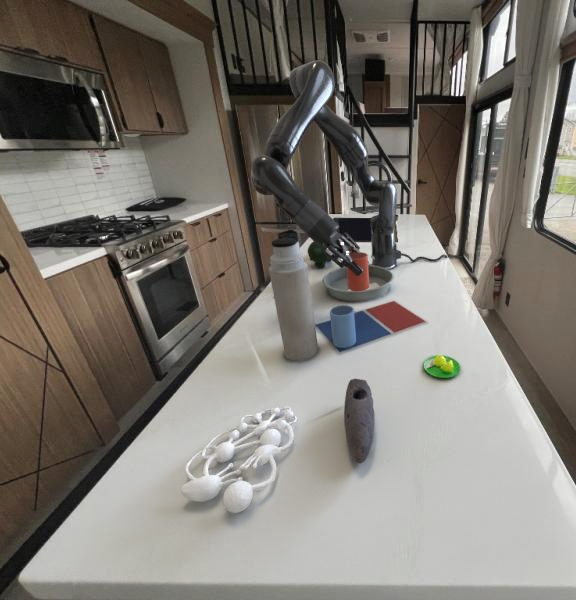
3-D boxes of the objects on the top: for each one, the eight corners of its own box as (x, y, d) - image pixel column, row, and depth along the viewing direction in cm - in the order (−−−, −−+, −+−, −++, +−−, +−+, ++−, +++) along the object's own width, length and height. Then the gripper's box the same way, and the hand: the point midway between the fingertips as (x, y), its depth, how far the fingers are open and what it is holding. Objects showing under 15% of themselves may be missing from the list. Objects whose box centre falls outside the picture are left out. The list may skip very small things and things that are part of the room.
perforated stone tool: (376, 472, 50) (374, 440, 47) (342, 474, 50) (338, 442, 47) (374, 402, 63) (373, 374, 60) (347, 403, 63) (344, 375, 60)
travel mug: (307, 283, 118) (300, 229, 110) (301, 291, 112) (293, 234, 104) (291, 283, 119) (282, 229, 110) (284, 290, 113) (274, 234, 104)
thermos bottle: (296, 340, 84) (279, 234, 72) (324, 345, 82) (310, 236, 69) (278, 358, 77) (255, 243, 65) (307, 364, 75) (289, 246, 63)
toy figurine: (317, 257, 151) (305, 272, 127) (313, 216, 144) (300, 223, 121) (338, 257, 151) (329, 272, 127) (335, 215, 144) (325, 222, 121)
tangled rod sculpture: (251, 409, 64) (246, 392, 62) (317, 418, 60) (313, 400, 58) (167, 502, 47) (156, 482, 45) (251, 524, 43) (242, 503, 41)
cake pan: (337, 274, 127) (336, 263, 125) (399, 277, 122) (399, 266, 120) (312, 301, 105) (310, 288, 103) (386, 306, 100) (386, 293, 98)
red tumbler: (362, 281, 92) (361, 250, 88) (373, 288, 88) (371, 256, 84) (344, 286, 89) (341, 254, 85) (354, 293, 85) (351, 260, 81)
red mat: (393, 302, 103) (393, 300, 103) (425, 322, 91) (425, 321, 91) (365, 310, 98) (365, 309, 98) (394, 333, 86) (394, 332, 86)
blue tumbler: (349, 333, 86) (347, 302, 82) (360, 343, 81) (358, 311, 77) (329, 340, 83) (326, 308, 79) (339, 350, 79) (336, 318, 75)
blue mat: (362, 311, 98) (362, 310, 98) (391, 334, 85) (391, 333, 85) (315, 326, 91) (315, 324, 90) (340, 353, 78) (339, 352, 78)
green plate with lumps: (466, 367, 72) (468, 357, 71) (446, 385, 67) (447, 374, 66) (437, 353, 77) (438, 343, 76) (416, 368, 72) (416, 358, 71)
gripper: (314, 219, 75) (366, 270, 78) (334, 208, 88) (378, 251, 91) (296, 241, 78) (347, 288, 81) (318, 227, 91) (361, 268, 94)
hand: (363, 269), depth 86 cm, fingers closed on red tumbler, 6 cm apart
